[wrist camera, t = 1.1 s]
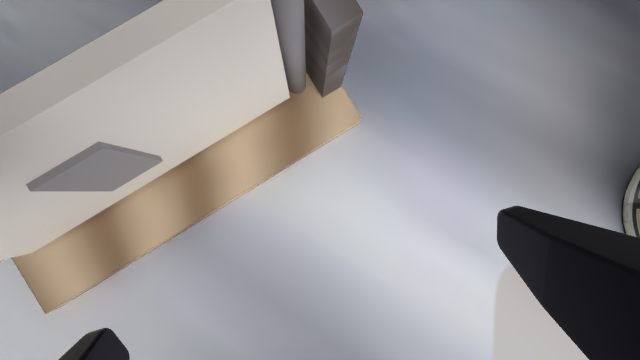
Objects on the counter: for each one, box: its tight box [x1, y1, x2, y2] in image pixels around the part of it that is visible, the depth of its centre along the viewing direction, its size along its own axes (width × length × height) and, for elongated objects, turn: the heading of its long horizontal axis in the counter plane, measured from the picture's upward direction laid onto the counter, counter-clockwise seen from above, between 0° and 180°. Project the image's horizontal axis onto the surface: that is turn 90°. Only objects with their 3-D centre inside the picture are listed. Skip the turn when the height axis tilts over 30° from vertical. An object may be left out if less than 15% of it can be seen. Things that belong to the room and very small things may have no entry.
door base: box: [12, 0, 363, 314], centre depth 17 cm, size 23×8×10 cm, turn 122°
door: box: [0, 0, 306, 260], centre depth 15 cm, size 20×1×11 cm, turn 122°
